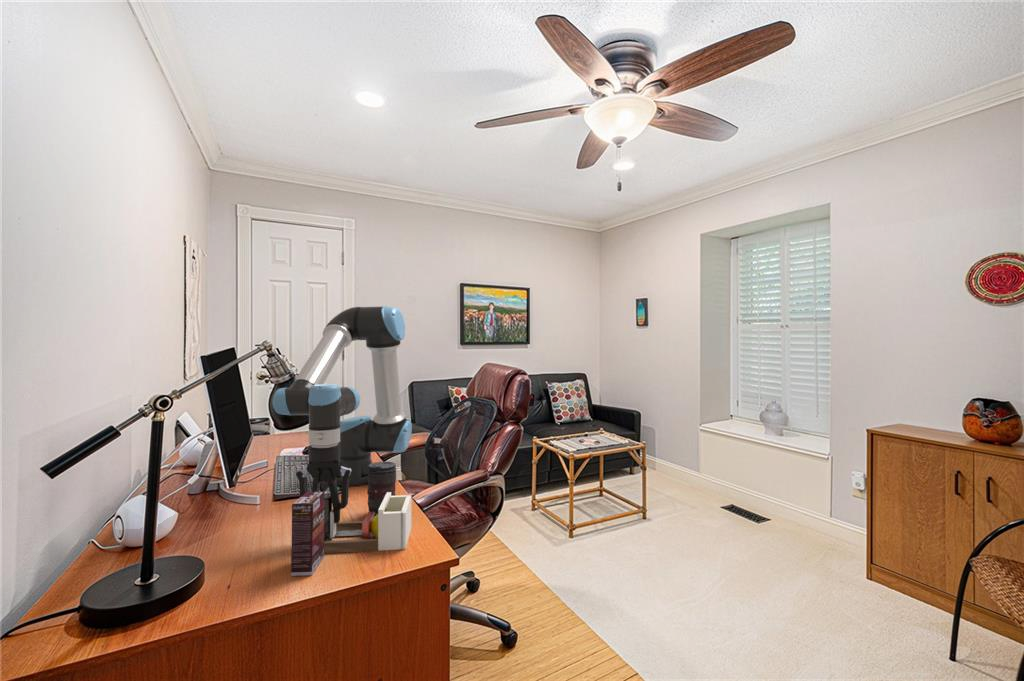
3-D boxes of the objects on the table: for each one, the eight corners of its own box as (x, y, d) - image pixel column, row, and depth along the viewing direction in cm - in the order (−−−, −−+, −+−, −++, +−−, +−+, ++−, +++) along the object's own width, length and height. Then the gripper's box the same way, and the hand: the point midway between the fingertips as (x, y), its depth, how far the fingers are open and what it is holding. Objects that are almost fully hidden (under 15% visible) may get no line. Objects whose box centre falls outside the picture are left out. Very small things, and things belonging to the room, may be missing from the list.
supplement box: (312, 576, 100) (313, 503, 100) (290, 577, 99) (290, 504, 99) (325, 557, 108) (325, 490, 108) (304, 558, 108) (304, 491, 108)
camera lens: (388, 521, 130) (388, 468, 130) (362, 519, 132) (362, 467, 132) (400, 510, 138) (400, 461, 138) (376, 508, 140) (376, 460, 140)
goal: (386, 528, 125) (386, 492, 125) (411, 527, 126) (411, 491, 126) (378, 550, 112) (378, 509, 112) (405, 549, 113) (405, 508, 113)
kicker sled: (321, 534, 120) (321, 492, 121) (374, 532, 122) (374, 491, 122) (312, 548, 113) (312, 503, 113) (368, 545, 114) (368, 501, 114)
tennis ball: (365, 542, 116) (365, 515, 116) (381, 531, 123) (381, 506, 123) (388, 546, 114) (389, 518, 114) (404, 535, 121) (404, 509, 121)
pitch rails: (322, 531, 123) (322, 522, 123) (386, 528, 125) (386, 519, 125) (306, 554, 110) (306, 544, 110) (378, 550, 112) (378, 540, 112)
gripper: (284, 448, 112) (284, 543, 112) (354, 447, 114) (354, 540, 114) (295, 442, 120) (295, 531, 120) (361, 440, 121) (361, 528, 121)
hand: (324, 535), depth 117 cm, fingers closed on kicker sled, 4 cm apart
